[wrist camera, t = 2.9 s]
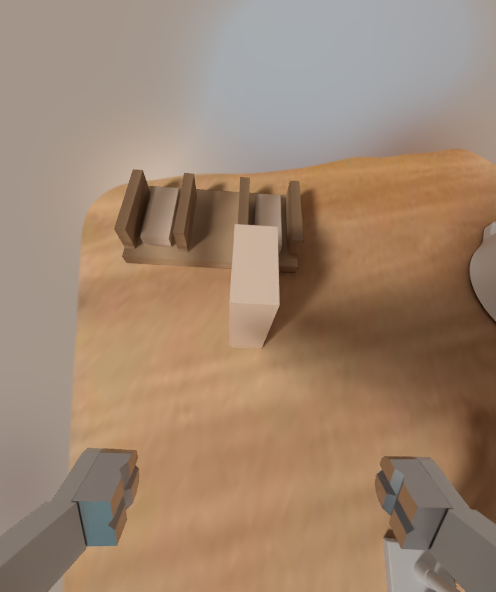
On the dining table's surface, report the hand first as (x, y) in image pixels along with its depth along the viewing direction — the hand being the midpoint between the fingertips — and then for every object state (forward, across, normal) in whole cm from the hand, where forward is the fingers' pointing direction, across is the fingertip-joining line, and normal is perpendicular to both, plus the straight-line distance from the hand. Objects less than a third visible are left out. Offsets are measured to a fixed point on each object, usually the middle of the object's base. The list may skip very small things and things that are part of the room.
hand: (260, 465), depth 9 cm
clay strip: (+18, 0, +2) cm, 18 cm away
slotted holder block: (+25, +4, -5) cm, 26 cm away
